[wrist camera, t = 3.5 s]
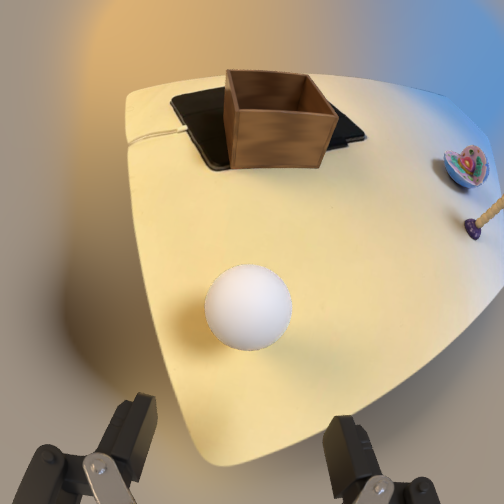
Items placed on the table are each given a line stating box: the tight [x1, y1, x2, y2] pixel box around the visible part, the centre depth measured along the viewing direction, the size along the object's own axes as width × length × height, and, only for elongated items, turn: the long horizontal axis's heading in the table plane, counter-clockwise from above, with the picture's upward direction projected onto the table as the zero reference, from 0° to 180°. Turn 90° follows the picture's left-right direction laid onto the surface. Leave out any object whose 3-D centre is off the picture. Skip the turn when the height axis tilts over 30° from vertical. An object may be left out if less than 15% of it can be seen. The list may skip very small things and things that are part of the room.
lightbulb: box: [205, 264, 292, 351], centre depth 21 cm, size 6×6×11 cm
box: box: [223, 70, 339, 169], centre depth 36 cm, size 13×13×10 cm
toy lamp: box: [465, 194, 504, 240], centre depth 30 cm, size 5×5×17 cm
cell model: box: [444, 145, 489, 188], centre depth 40 cm, size 10×12×10 cm
